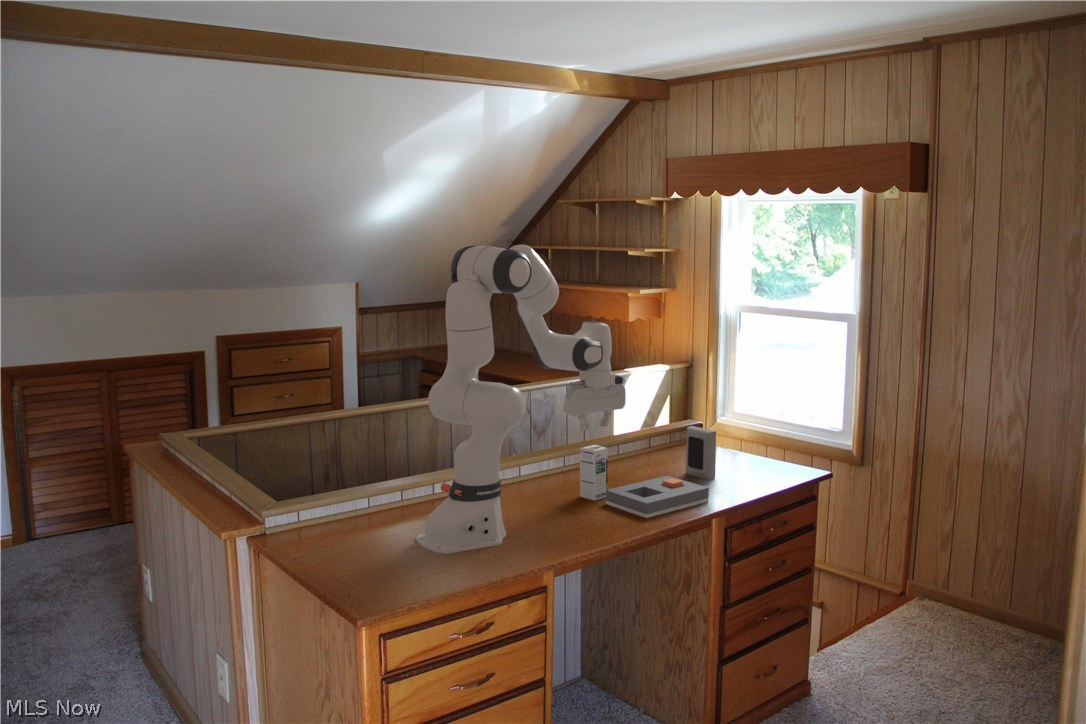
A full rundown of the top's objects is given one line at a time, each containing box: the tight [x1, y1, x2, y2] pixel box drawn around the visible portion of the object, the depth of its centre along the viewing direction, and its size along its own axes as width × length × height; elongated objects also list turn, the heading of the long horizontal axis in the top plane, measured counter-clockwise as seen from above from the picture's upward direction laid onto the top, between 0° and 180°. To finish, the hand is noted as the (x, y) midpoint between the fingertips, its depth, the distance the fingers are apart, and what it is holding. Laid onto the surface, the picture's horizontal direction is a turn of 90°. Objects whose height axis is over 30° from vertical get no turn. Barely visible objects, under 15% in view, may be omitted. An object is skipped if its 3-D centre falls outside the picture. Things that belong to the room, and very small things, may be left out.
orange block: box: [663, 477, 683, 488], centre depth 257 cm, size 4×4×2 cm
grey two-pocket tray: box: [605, 475, 710, 519], centre depth 253 cm, size 24×16×4 cm, turn 128°
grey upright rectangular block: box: [685, 425, 717, 481], centre depth 279 cm, size 10×4×15 cm, turn 40°
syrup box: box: [579, 444, 609, 501], centre depth 258 cm, size 6×6×14 cm
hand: (594, 427), depth 256 cm, fingers open, 6 cm apart
